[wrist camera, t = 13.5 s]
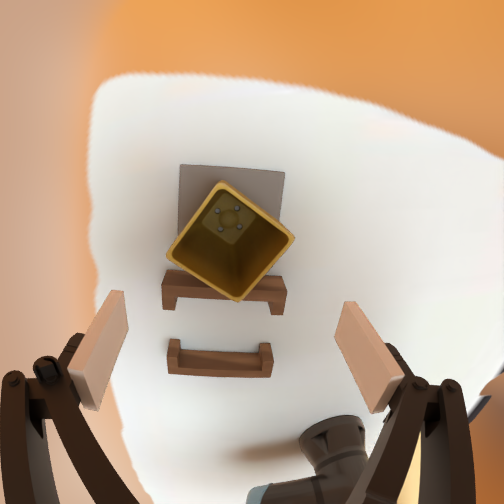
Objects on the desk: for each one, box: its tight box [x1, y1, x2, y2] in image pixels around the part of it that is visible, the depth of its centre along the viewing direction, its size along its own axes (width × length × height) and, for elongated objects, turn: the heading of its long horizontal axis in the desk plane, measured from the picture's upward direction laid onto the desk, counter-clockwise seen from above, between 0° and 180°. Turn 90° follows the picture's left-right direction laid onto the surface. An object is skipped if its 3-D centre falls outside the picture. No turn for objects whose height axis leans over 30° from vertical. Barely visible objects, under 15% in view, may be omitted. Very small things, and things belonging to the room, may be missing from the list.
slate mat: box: [178, 165, 285, 267], centre depth 35 cm, size 12×12×1 cm
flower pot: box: [166, 180, 295, 302], centre depth 31 cm, size 9×9×9 cm
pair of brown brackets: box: [161, 270, 287, 378], centre depth 39 cm, size 15×15×4 cm
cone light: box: [397, 431, 421, 504], centre depth 50 cm, size 25×18×35 cm
